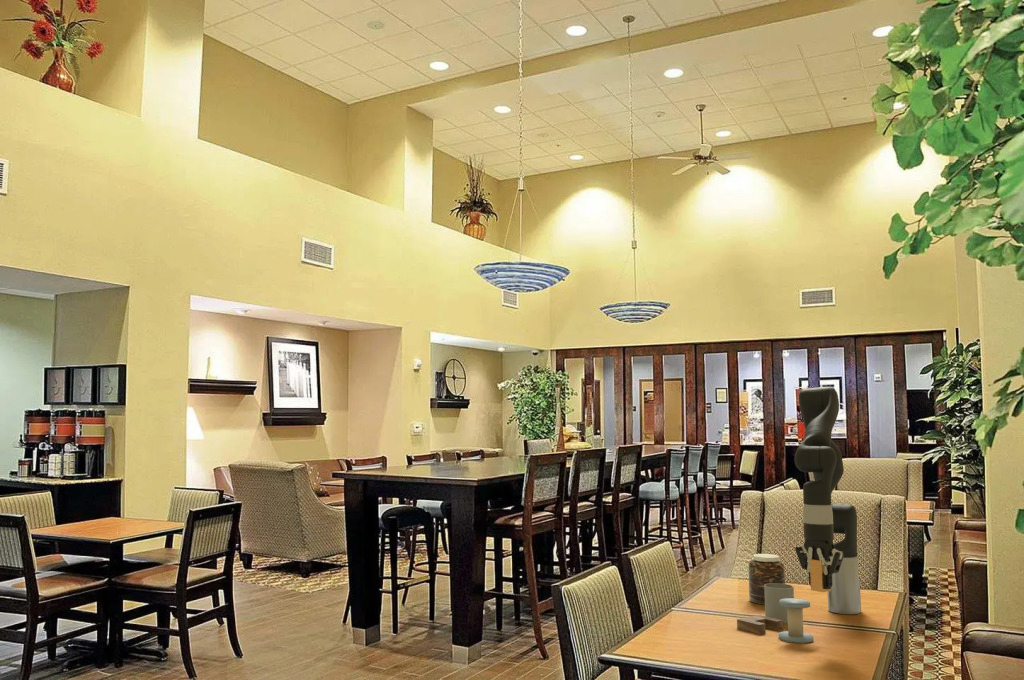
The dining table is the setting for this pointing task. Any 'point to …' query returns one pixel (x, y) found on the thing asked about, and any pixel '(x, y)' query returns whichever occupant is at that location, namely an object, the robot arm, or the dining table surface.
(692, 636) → the dining table surface
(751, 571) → the jar
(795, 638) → the bobbin
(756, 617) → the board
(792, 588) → the cup
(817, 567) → the block
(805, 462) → the robot arm
